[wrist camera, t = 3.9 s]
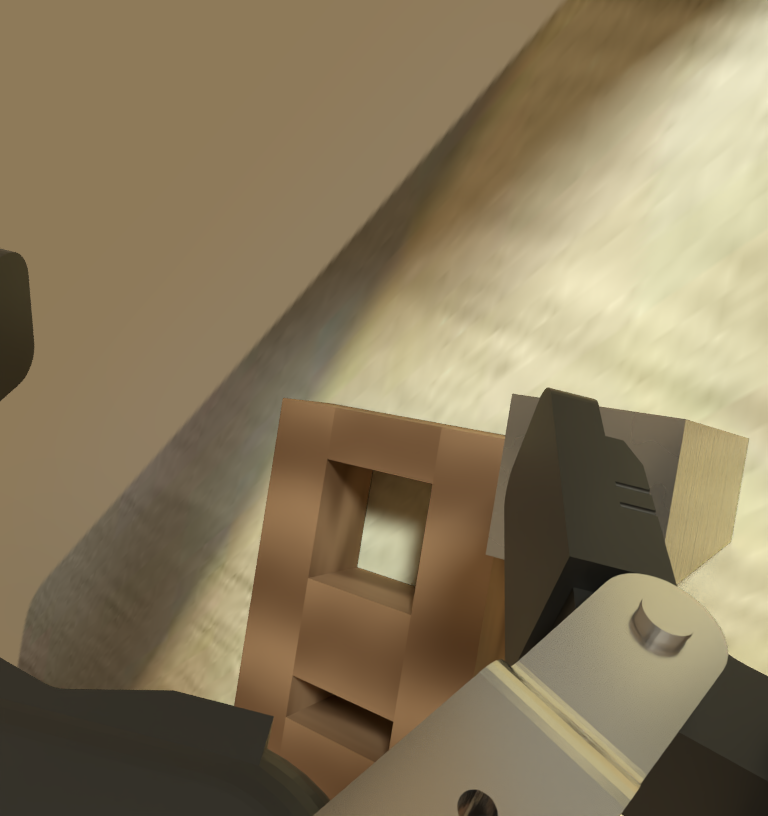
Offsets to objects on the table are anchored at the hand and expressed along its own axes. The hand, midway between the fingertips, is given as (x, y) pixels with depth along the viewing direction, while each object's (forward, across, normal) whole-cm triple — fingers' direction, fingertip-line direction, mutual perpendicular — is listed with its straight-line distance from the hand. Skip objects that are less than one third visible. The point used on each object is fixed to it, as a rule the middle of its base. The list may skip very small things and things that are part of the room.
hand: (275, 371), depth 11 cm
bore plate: (+15, -5, +21) cm, 26 cm away
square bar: (+14, -14, +10) cm, 22 cm away
